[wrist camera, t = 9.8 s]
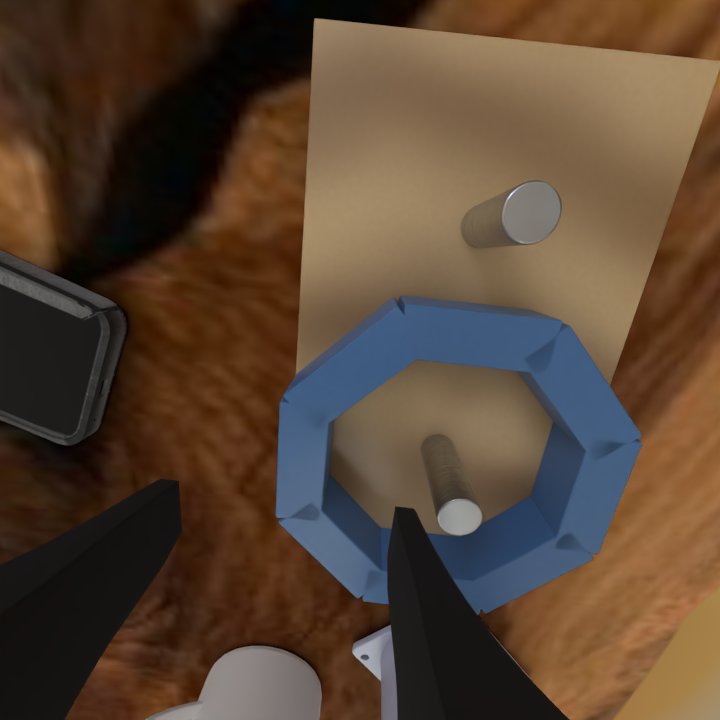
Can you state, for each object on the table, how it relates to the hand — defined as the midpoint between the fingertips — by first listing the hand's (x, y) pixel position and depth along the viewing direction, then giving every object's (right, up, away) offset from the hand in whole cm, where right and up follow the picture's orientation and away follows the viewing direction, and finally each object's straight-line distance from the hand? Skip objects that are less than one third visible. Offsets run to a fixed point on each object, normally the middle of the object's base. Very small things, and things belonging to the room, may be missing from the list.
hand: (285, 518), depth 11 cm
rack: (+7, +6, +5) cm, 10 cm away
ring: (+6, +1, +5) cm, 8 cm away
